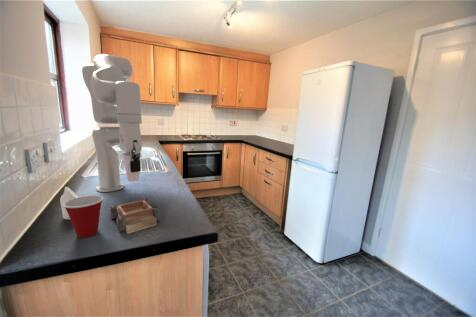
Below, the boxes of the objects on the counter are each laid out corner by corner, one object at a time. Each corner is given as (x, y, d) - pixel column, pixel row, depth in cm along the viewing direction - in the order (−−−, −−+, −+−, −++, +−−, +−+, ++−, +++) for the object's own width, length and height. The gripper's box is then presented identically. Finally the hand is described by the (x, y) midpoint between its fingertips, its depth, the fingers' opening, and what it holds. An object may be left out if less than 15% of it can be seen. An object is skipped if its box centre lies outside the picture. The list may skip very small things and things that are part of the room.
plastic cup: (103, 221, 80) (100, 191, 78) (109, 234, 72) (106, 201, 70) (65, 231, 73) (61, 197, 71) (68, 246, 65) (63, 209, 63)
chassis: (109, 215, 85) (108, 202, 84) (145, 206, 94) (144, 194, 93) (121, 235, 72) (120, 220, 71) (161, 223, 81) (161, 210, 80)
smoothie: (123, 183, 75) (120, 143, 72) (123, 178, 81) (120, 141, 78) (143, 181, 78) (141, 142, 75) (142, 176, 84) (140, 140, 81)
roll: (79, 186, 81) (60, 190, 76) (83, 216, 83) (64, 221, 79) (74, 182, 84) (56, 186, 80) (78, 211, 87) (60, 216, 83)
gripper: (111, 117, 79) (115, 166, 83) (124, 120, 66) (128, 177, 70) (133, 118, 84) (136, 163, 87) (149, 120, 71) (151, 173, 75)
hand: (132, 169), depth 79 cm, fingers closed on smoothie, 6 cm apart
